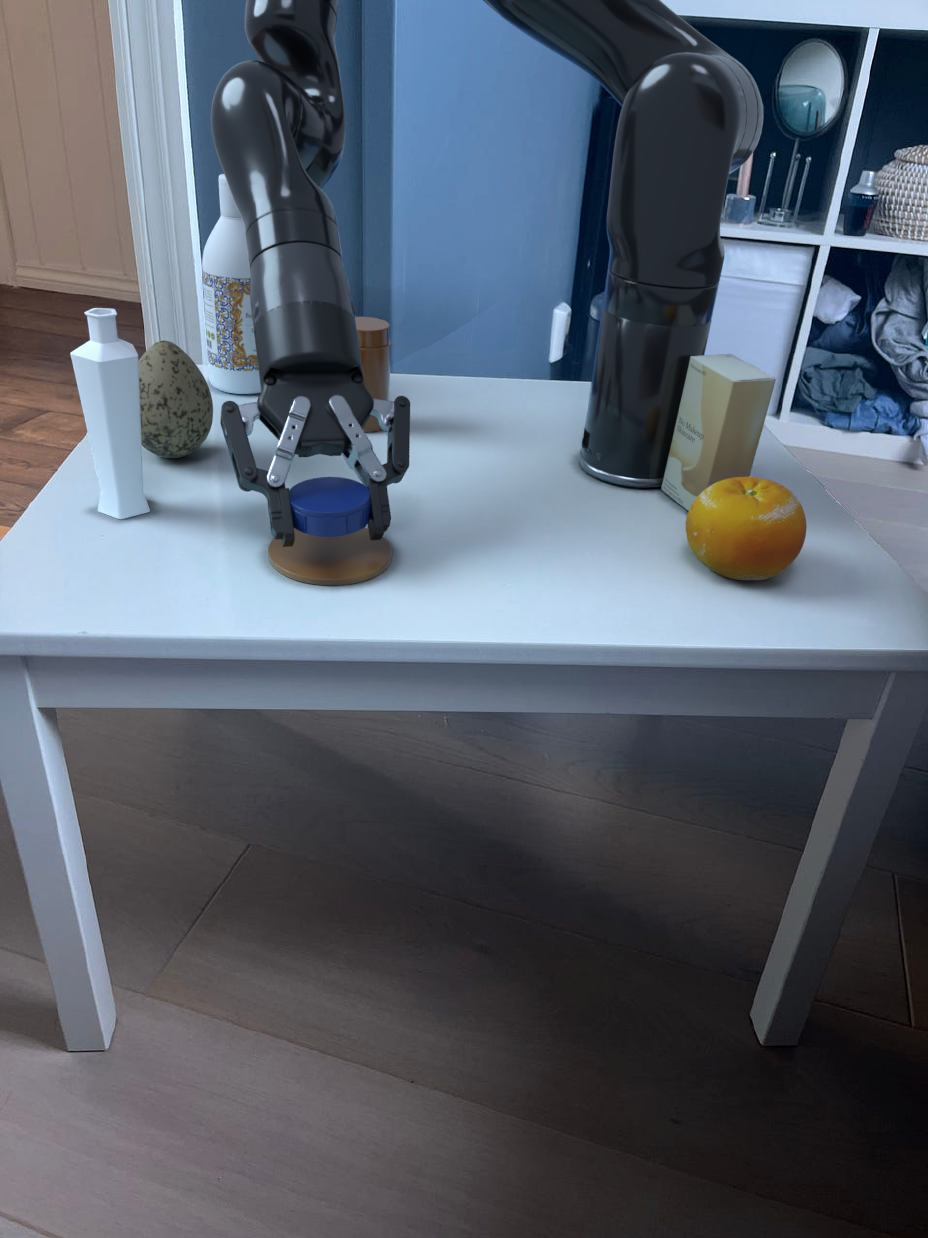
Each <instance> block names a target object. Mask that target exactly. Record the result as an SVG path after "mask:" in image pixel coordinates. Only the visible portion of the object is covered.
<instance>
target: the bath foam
mask: <svg viewBox="0 0 928 1238" xmlns="http://www.w3.org/2000/svg"><path fill="white" fill-rule="evenodd" d="M218 194H219V211H220V217H219V218H218V220H217V222H216V223H215V225H214V227H213V229H212V230H211V232H210V234H209V236H208V238H207V240H206V243H205V245H204V249H203V253H202V260H201V274H202V290H203V291H202V292H203V305H204V307H203V308H204V321H205V322H204V323H205V336H206V337H205V338H206V351H207V364H208V365H207V367H208V379H209V383H210V384H211V385H212V387H213V388H215V389H217V390H219V391H221V392H225V393H229V394H235V395H254V394H260V393H261V386H260V378H259V370H258V361H257V353H256V345H255V337H254V328H253V320H252V312H251V303H250V267H249V259H248V251H247V242H246V232H245V224H244V221H243V218H242V216H241V214H240V212H239V209H238V207H237V205H236V203H235V201H234V198H233V196H232V193H231V190H230V188H229V185H228V182H227V180H226V177H225V175H224V173H221V174H218Z"/></svg>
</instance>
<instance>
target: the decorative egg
mask: <svg viewBox="0 0 928 1238" xmlns="http://www.w3.org/2000/svg"><path fill="white" fill-rule="evenodd" d="M138 364H139V391H140V417H141V444H142V447H143V448H144V449H145V450H147V451H148V452H150V453H151V454H153V455H156V456H158V457H161V458H165V459H178V458H184V457H186V456H189V455H190V454H193V453H194V452H195V451H197V450H198V449H199V448H200V447H201V446H202V445H203V444H204V442H205V441H206V440H207V438H208V436H209V434H210V432H211V429H212V425H213V420H214V402H213V397H212V393H211V390H210V386H209V384H208V382H207V380H206V378H205V376H204V375H203V373H202V371H201V370H200V368H199V367H198V365H197V364H196V363H195V361H194V360H193V359H192V358H191V357H190V356H189V355H188V354H187V353H186V352H185V351H184V350H183V349H182V348H181V347H179V345H177V344H176V343H175V342H172V341H169V340H159V341H157V342H155V343H153V344H152V345H151V346H149V347H148V348H147V350H146V351H145V352H144V353H143V354H142V356H140V359H139V358H138Z"/></svg>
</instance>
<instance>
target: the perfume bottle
mask: <svg viewBox="0 0 928 1238" xmlns="http://www.w3.org/2000/svg"><path fill="white" fill-rule="evenodd" d="M83 313H84V315H85V316H86V319H87V326H88V333H89V340H88V341H86V342H85V343H83V344H82V345H79V346H78V347H77V348H75V349H74V350H72V351H71V352H70V353H69V354H70V358H71V363H72V367H73V372H74V377H75V381H76V386H77V391H78V394H79V399H80V403H81V408H82V412H83V418H84V421H85V422H84V423H85V426H86V431H87V435H88V441H89V445H90V449H91V453H92V458H93V463H94V467H95V473H96V476H97V481H98V486H99V491H100V493H99V499H98V505H97V512H98V513H101V514H104V515H107V516H110V517H112V518H115V519H117V520H125V519H129V518H132V517H136V516H139V515H143V514H148V513H150V512H151V509H150V506H149V503H148V500H147V497H146V495H145V492H144V476H143V475H144V474H143V473H144V472H143V449H142V447H143V446H142V444H141V417H140V391H139V364H138V361H139V353H138V352H137V349H136V348H135V345H134V344H133V343H131V342H129V341H126V340H123V339H121V338H119V336H118V327H117V319H116V317H117V315H118V312H117V311H116V309H115V308H106V307H105V308H103V307H94V308H93V307H92V308H91V309H88V310H86V311H84V312H83Z"/></svg>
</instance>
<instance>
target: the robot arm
mask: <svg viewBox="0 0 928 1238" xmlns="http://www.w3.org/2000/svg"><path fill="white" fill-rule="evenodd" d="M245 1H246V2H245V7H244V9H245V10H244V31H245V36H246V39H247V42H248V43H249V46H250V47H251V48H252V50H253V51H254V52H255V54H256V56H257V57H258V58H259V59H260V60H255V59H250V60H243V61H240V62H238V63H236V64H235V65H232V66H231V67H230V68H229V69H228V70H227V71H226V72H225V73H224V74H223V75H222V77H221V78H220V79H219V82H218V84H217V85H216V87H215V88H216V89H215V90H214V94H213V97H212V102H211V108H210V109H211V110H210V129H211V130H210V131H211V136H212V140H213V146H214V148H215V153H216V155H217V158H218V161H219V164H220V166H221V169H222V172H223V174H224V175H225V177H226V180H227V182H228V185H229V188H230V190H231V193H232V196H233V198H234V201H235V203H236V205H237V207H238V209H239V212H240V214H241V216H242V218H243V221H244V224H245V232H246V242H247V251H248V259H249V267H250V303H251V312H252V320H253V328H254V337H255V345H256V353H257V361H258V370H259V378H260V386H261V393H259V395H258V397H257V400H256V401H254V402H253V401H252V402H249V403H248V402H247V403H242V404H238V403H237V402H235V401H233V400H226V401H224V402H223V403H222V404H221V408H220V423H219V424H220V427H221V431H222V434H223V437H224V440H225V444H226V447H227V452H228V454H229V457H230V461H231V464H232V467H233V471H234V474H235V478H236V482H237V485H238V487H239V489H240V490H241V491H242V492H251V491H252V492H257V493H260V494H262V495H263V496H264V497H265V499H266V502H267V510H268V511H267V512H268V518H269V526H270V527H269V528H270V534H271V536H272V538H273V539H281V541H282V547H291V546H293V544H294V541H295V534H294V525H293V517H292V509H291V501H290V493H289V490H290V488H288V487H286V480H287V478H288V475H289V473H290V470H291V467H292V464H293V461H294V458H295V456H296V455H297V456H298V457H297V458H299V459H300V458H311V457H314V456H317V455H323V456H328V457H341V456H342V458H343V460H344V461H345V463H346V465H347V466H348V468H349V469H350V470H352V471H354V473H355V474H356V476H357V478H358V479H359V482H360V483H362V484H363V485H365V486H366V487H367V488H368V490H369V492H370V501H371V514H370V521H369V523H368V524H367V528H368V529H369V536H370V540H381V538H382V537H384V535H385V533H386V532H387V531H388V529H389V528H390V526H391V522H392V514H391V513H392V512H391V506H390V499H389V493H388V486H390V485H392V484H399V483H400V482H401V481H403V478H404V476H405V475H406V473H407V471H408V469H409V468H410V449H411V448H410V447H411V445H410V443H411V442H410V441H411V439H410V438H411V401H410V399H409V398H408V397H407V396H405V395H397V397H395V398H394V400H389V401H388V400H380V399H373V397H372V395H371V394H370V392H369V391H368V390H367V388H366V386H365V383H364V378H363V371H362V364H361V357H360V350H359V343H358V336H357V329H356V322H355V317H356V316H357V313H356V307H355V303H354V301H353V295H352V290H351V286H350V285H351V284H350V281H349V279H348V275H347V272H346V269H345V264H344V258H343V257H344V256H343V249H342V241H341V236H340V235H341V234H340V229H339V228H340V227H339V222H338V216H337V212H336V209H335V207H334V205H333V203H332V201H331V199H330V197H329V196H328V195H327V193H326V192H325V191H324V190H323V189H324V187H326V186H327V184H329V182H331V180H332V179H333V178H334V176H335V174H336V172H337V171H338V169H339V166H340V164H341V161H342V158H343V155H344V151H345V146H346V145H345V144H346V136H347V134H346V133H347V122H346V111H345V110H346V109H345V101H344V92H343V85H342V77H341V76H342V75H341V67H340V62H339V57H338V52H337V45H336V35H337V27H338V18H339V9H340V0H245ZM482 1H483V2H484V3H485V4H486V5H487V6H488V7H489V8H491V9H492V10H493V11H494V12H495V13H496V14H497V15H498V16H500V17H501V18H502V19H503V20H505V21H506V22H507V23H509V24H510V25H512V26H513V27H515V28H516V29H518V30H519V31H520V32H521V33H523V34H525V35H527V36H528V37H529V38H531V39H532V40H534V41H536V42H537V43H539V44H540V45H542V46H543V47H545V48H547V49H549V50H550V51H552V52H554V53H555V54H557V55H559V56H560V57H562V58H564V59H566V60H567V61H568V62H570V63H572V64H573V65H575V66H576V67H578V68H579V69H581V70H582V71H584V72H585V73H587V74H588V75H589V76H591V78H592V79H594V80H595V81H596V82H598V84H600V85H601V86H602V87H603V88H604V89H605V91H607V92H608V93H609V95H611V96H612V98H613V99H614V100H615V101H616V102H617V103H618V105H620V106H621V109H620V113H619V117H618V122H617V126H616V131H615V132H616V133H615V139H614V140H615V141H614V147H613V155H612V163H611V164H612V165H611V173H610V183H609V191H608V202H607V211H606V234H607V240H608V244H609V257H608V258H609V259H608V264H607V265H608V266H607V272H606V278H605V284H604V285H605V286H604V292H603V299H602V300H603V301H602V305H601V306H602V308H601V312H600V313H601V314H600V321H599V326H598V327H599V328H598V334H597V341H596V347H595V355H594V362H593V369H592V370H593V371H592V376H591V382H590V389H589V397H588V401H587V402H588V403H587V409H586V416H585V422H584V425H583V431H582V432H581V433H582V437H581V448H580V451H579V455H578V464H579V466H580V467H581V469H582V470H584V471H585V472H586V473H587V474H589V475H591V476H592V477H595V478H597V479H598V480H602V481H604V482H607V483H610V484H613V485H619V486H623V487H631V488H643V489H644V488H647V489H648V488H659V487H662V483H663V479H664V474H665V470H666V465H667V461H668V456H669V452H670V447H671V443H672V438H673V434H674V429H675V425H676V420H677V416H678V411H679V407H680V402H681V398H682V393H683V389H684V384H685V380H686V375H687V371H688V366H689V362H690V357H691V356H700V355H706V349H707V343H708V339H709V335H710V329H711V325H712V320H713V315H714V310H715V304H716V300H717V295H718V291H719V286H720V281H721V277H722V272H723V266H724V263H725V262H724V261H725V258H726V257H725V255H726V251H725V246H724V244H723V242H722V239H721V223H722V216H723V210H724V204H725V198H726V194H727V187H728V182H729V176H730V174H732V173H734V172H735V171H737V170H738V169H740V168H741V167H742V166H743V165H744V164H745V163H746V162H747V161H748V160H749V159H750V158H751V157H752V155H753V154H754V152H755V150H756V148H757V146H758V144H759V141H760V139H761V135H762V133H763V126H764V125H763V124H764V106H763V100H762V96H761V93H760V90H759V86H758V85H757V82H756V81H755V79H754V77H753V75H752V74H751V73H750V72H749V70H748V68H746V67H745V66H744V65H743V64H742V63H741V62H739V60H737V59H736V58H735V57H733V56H731V55H730V54H729V53H728V52H726V51H725V50H724V49H722V48H721V47H719V46H718V45H717V44H715V43H714V42H713V41H711V40H710V39H708V38H707V37H706V36H705V35H704V34H702V33H701V32H699V31H698V29H695V27H693V26H692V25H690V24H689V23H688V22H687V21H686V20H684V19H683V18H682V17H681V16H679V15H678V14H677V13H675V12H674V11H673V10H672V9H671V8H669V6H667V5H666V4H665V3H664V2H663V1H662V0H482ZM370 415H373V416H375V417H376V418H377V419H378V421H379V425H380V427H381V429H382V430H383V431H384V432H387V442H386V443H387V444H386V445H387V448H386V463H383V464H382V462H381V460H380V459H379V458H378V456H377V454H376V453H375V451H374V449H373V443H372V442H371V440H370V438H369V436H368V435H367V433H366V432H364V431H363V429H362V428H363V427H364V425H365V423H366V422H367V420H368V419H369V417H370ZM256 420H259V422H261V424H263V425H264V426H265V427H266V428H267V430H268V431H269V432H270V433H271V434H272V435H273V436H274V437H275V438H276V439H277V440H278V444H277V447H276V450H275V453H274V456H273V459H272V462H271V464H270V467H269V469H268V470H266V469H263V468H259V467H257V463H256V460H255V457H254V454H253V450H252V446H251V443H250V441H249V436H251V435H252V433H253V430H254V422H255V421H256ZM382 430H381V431H382Z"/></svg>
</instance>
